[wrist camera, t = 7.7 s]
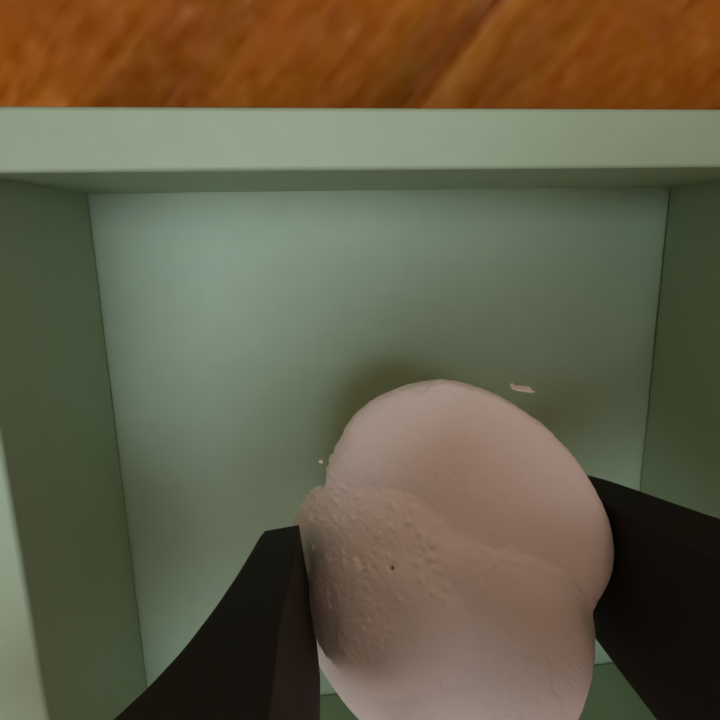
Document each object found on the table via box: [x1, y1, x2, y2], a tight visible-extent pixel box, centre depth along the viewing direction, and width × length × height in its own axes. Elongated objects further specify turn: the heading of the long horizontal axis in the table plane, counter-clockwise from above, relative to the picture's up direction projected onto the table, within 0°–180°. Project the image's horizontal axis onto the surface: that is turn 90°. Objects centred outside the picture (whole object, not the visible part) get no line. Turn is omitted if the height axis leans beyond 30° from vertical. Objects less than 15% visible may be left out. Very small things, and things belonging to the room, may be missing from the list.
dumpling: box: [291, 379, 614, 720], centre depth 10 cm, size 7×5×4 cm
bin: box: [0, 106, 720, 720], centre depth 12 cm, size 15×15×6 cm
